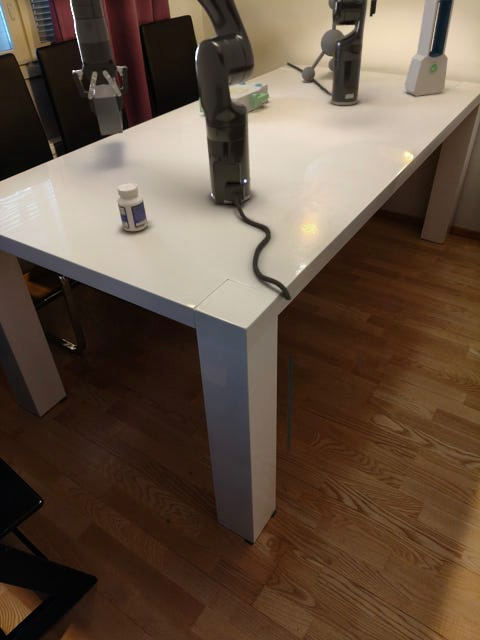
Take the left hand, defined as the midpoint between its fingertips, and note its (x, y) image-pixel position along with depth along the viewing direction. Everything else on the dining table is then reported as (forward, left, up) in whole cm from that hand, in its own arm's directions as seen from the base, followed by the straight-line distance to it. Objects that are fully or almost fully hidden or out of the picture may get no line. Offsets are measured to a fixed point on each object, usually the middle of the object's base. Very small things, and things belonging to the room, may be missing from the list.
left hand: (108, 111), depth 128 cm
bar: (+8, +3, -5) cm, 10 cm away
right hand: (+33, -63, +16) cm, 73 cm away
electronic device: (+74, -92, -14) cm, 120 cm away
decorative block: (+55, -24, -14) cm, 62 cm away
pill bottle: (-37, -17, -14) cm, 43 cm away
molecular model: (+99, -56, -14) cm, 115 cm away
